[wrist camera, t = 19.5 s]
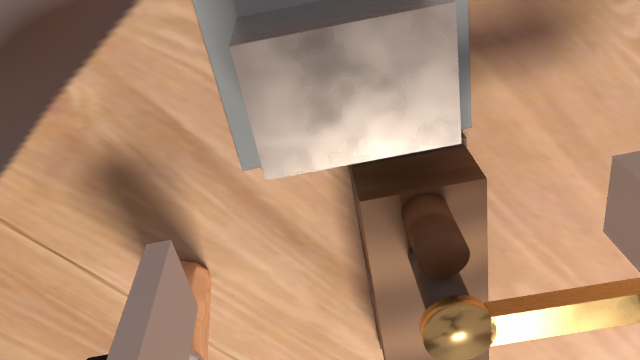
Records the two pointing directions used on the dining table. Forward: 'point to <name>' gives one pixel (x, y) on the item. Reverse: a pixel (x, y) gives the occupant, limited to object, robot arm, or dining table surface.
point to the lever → (525, 317)
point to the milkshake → (199, 307)
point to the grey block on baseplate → (348, 81)
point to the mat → (217, 28)
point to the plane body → (421, 238)
